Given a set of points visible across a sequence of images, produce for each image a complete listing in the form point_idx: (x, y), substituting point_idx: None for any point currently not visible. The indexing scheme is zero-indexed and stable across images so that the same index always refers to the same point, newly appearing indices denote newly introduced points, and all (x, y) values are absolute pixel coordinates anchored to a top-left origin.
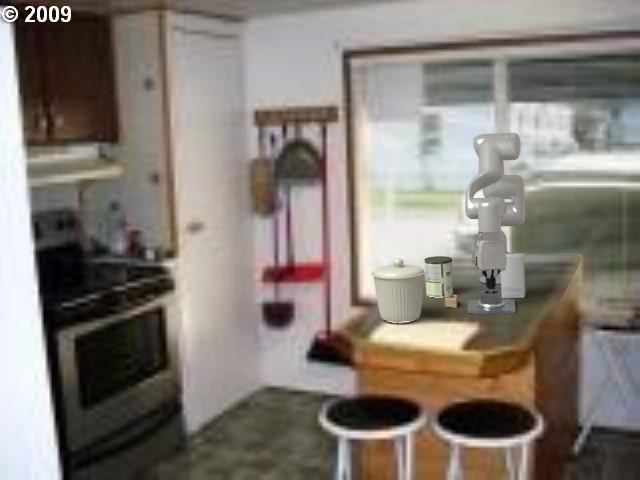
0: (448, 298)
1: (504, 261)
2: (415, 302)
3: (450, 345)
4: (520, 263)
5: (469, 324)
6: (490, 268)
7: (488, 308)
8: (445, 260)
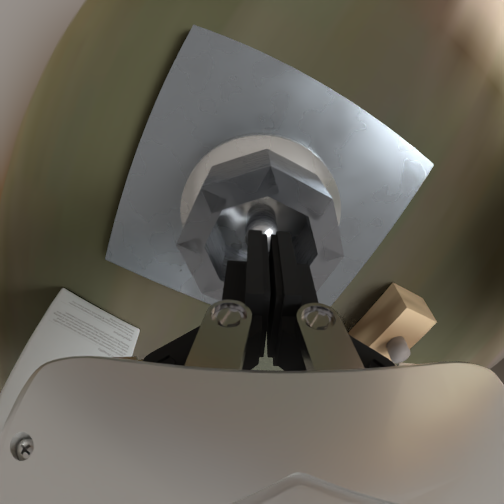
0: (418, 328)
1: (34, 455)
2: None
3: None
4: (2, 414)
5: (490, 13)
6: (365, 383)
7: (318, 145)
8: None
